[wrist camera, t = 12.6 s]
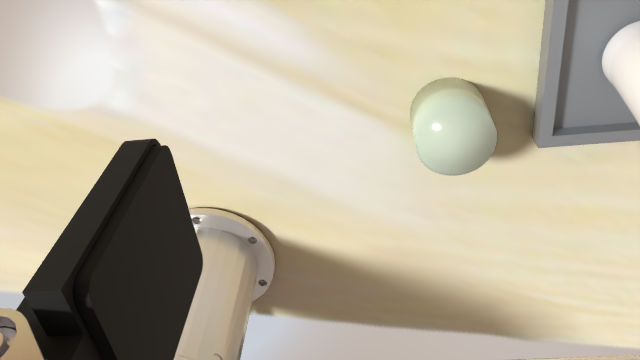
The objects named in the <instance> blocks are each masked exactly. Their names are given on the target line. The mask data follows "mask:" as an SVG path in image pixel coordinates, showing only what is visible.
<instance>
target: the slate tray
mask: <svg viewBox="0 0 640 360" xmlns="http://www.w3.org/2000/svg"><path fill="white" fill-rule="evenodd" d="M637 21H640V0H546V3H545V13H544V23H543V34H542V44H541V54H540V64H539V74H538V84H537V95H536V105H535V115H534V125H533V135H532V137H533V139H534V141H535V143H536V145H537V147H538V148H545V147H559V146H572V145H585V144H598V143H612V142H625V141H638V140H640V126H639V124H638V123H637V121H636V120H635V118H634V117H633V115H632V113H631V112H630V110H629V109H628V107H627V106H626V104H625V103H624V101H623V99H622V98H621V96H620V95H619V93H618V92H617V90H616V89H615V87H614V86H613V85H612V84H611V83H610V82H609V81H608V79H607V78H606V77H605V75H604V72H603V69H602V56H603V52H604V49H605V47H606V45H607V44H608V42H609V41H610V39H611V38H612V37H613V36H614V35H615V34H616V33H617V32H618V31H619V30H621V29H622V28H624V27H625V26H627V25H629V24H631V23H634V22H637Z"/></svg>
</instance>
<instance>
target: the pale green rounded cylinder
mask: <svg viewBox="0 0 640 360" xmlns="http://www.w3.org/2000/svg"><path fill="white" fill-rule="evenodd" d="M410 118H411V124H412V130H413V136H414V141H415V147H416V152H417V155H418V157H419V159H420V160H421V162H422V163H423V164H424V165H425V166H426V167H427V168H428V169H430V170H432V171H434V172H436V173H439V174H442V175H450V176H455V175H462V174H466V173H469V172H472V171H474V170H476V169H478V168H479V167H481V166H482V165H483V164H484V163H485V162H486V161H488V159H489V158H490V157H491V155H492V154H493V152H494V150H495V147H496V144H497V131H496V127H495V125H494V122H493V120H492V118H491V115H490V113H489V111H488V108H487V106H486V104H485V101H484V99H483V97H482V95H481V93H480V91H479V90H478V89H477V88H476V87H475V86H474V85H473V84H471V83H470V82H468V81H466V80H463V79H459V78H442V79H439V80H436V81H433V82H431V83H429V84H428V85H426V86H425V87H423V88H422V89H421V90H420V91H419V92H418V94H417V95H416V96H415V98H414V100H413V102H412V105H411V109H410Z"/></svg>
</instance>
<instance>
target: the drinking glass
mask: <svg viewBox="0 0 640 360" xmlns="http://www.w3.org/2000/svg"><path fill="white" fill-rule="evenodd" d="M602 69H603V72H604V75H605V77H606V78H607V79H608V81H609V82H610V83H611V84H612V85H613V86H614V87H615V89H616V90H617V92H618V93H619V95H620V96H621V98H622V99H623V101H624V103H625V104H626V106H627V107H628V109H629V110H630V112H631V113H632V115H633V117H634V118H635V120H636V121H637V123H638V124H639V126H640V21H637V22H634V23H631V24H629V25H627V26H625V27H624V28H622V29H621V30H619V31H618V32H617V33H616V34H615V35H614V36H613V37H612V38H611V39H610V41H609V42H608V44H607V45H606V47H605V49H604V52H603V56H602Z"/></svg>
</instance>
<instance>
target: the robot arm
mask: <svg viewBox="0 0 640 360" xmlns="http://www.w3.org/2000/svg"><path fill="white" fill-rule="evenodd" d="M274 270H275V257H274V253H273V250H272V247H271V245H270V243H269V241H268V240H267V239H266V237H265V236H264V235H263V233H262V232H261V231H260V230H258V229H257V228H256V227H255V226H254V225H253V224H251V223H250V222H248V221H247V220H245V219H244V218H241V217H239V216H237V215H235V214H233V213H229V212H226V211H222V210H218V209H210V208H193V209H188V206H187V202H186V199H185V196H184V193H183V189H182V186H181V183H180V180H179V177H178V173H177V170H176V167H175V164H174V160H173V157H172V154H171V151H170V149H169V148H168V146H166V145H165V146H161V145H160V143H159V142H158V141H157V140H156V139H146V140H134V141H125V142H124V143H123V144H122V145H121V147H120V148H119V150H118V151H117V152H116V154H115V155H114V157H113V158H112V160H111V161H110V163H109V164H108V166H107V167H106V169H105V170H104V172H103V173H102V175H101V176H100V178H99V179H98V181H97V182H96V184H95V185H94V187H93V188H92V190H91V191H90V193H89V194H88V196H87V197H86V198H85V200H84V201H83V203H82V204H81V206H80V207H79V209H78V210H77V212H76V213H75V215H74V216H73V218H72V219H71V221H70V222H69V224H68V225H67V227H66V228H65V230H64V231H63V233H62V234H61V236H60V237H59V239H58V240H57V242H56V243H55V244H54V246H53V247H52V249H51V250H50V252H49V253H48V255H47V256H46V258H45V259H44V261H43V262H42V264H41V265H40V267H39V268H38V270H37V271H36V273H35V274H34V276H33V277H32V279H31V280H30V282H29V283H28V285H27V286H26V288H25V289H24V290H23V292H22V293H23V294H24V296H25V298H24V299H23V301H22V302H21V304H20V305H19V307H18V308H17V310H13V309H3V308H0V360H240V357H241V352H242V347H243V343H244V338H245V332H246V328H247V323H248V318H249V313H250V308H251V304H252V302H253V301H255V300H256V299H258V298H259V297H260V296H261V295H263V294H264V293H265V291H266V290H267V289H268V287H269V286H270V284H271V281H272V279H273V275H274ZM518 360H519V359H518ZM520 360H640V355H638V356H607V357H579V358H578V357H577V358H548V359H520Z"/></svg>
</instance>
